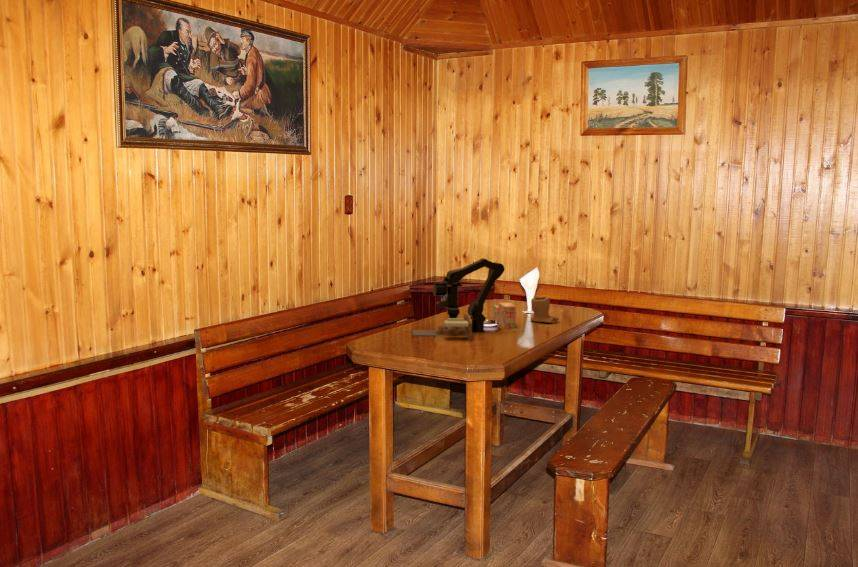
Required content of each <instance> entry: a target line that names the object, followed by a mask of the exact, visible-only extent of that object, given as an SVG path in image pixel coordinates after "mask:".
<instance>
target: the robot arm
mask: <svg viewBox="0 0 858 567" xmlns="http://www.w3.org/2000/svg"><path fill="white" fill-rule="evenodd" d="M483 268H487V269H488V272H487V278H486V280H485V282H484V284H483V286H482V287H481V290H480V291H479V293H478V295H477V297H476V299H475V301H470V302H469V305H468V307H467V313H466V314H467V315H468V317H469V319H470V320H471V322H472V333H485V332H484V328H485V327H484V326H485V322H486V319H487V318H486V316H485V315H484V314H483V312H484V305H485V303H486V300H487V298H488V296H489V295H490V292H491V290H492V289H493V286H495V283H496V281H497V280H498V279H500V277H501V276H502V275H503V273H504V272H505V271H506V270H505V266H504V264H503V263H500V262H497V261H495V262H493V261H491V260H489V259H486V258H482V257H481V258H480V259H479V260H477V261H474V262H472V263H470V264H468V265H465V266H463V267H460V268H457V269H451V270H449V271H447V272H446V274H445V275H446V276H445V278H444V279H443V280H442V281H441V282H434V283H433V287H432V294H433V296H434V297H435V296H439V297H440V296H446V297H445V299H442V300H439V301H436V302H435V303H436V307H437V309H438V310H440V309H441V310H442V308H444V309H445V311H446V314H447V315H448V317H450V318H458V316H459V315H460V313H461V312H460V308H459V305H458V304H459V287H461V288H462V287H463V285H462V283H460V281H462V280H463V278H464V277H466V276H468V275H469V274H472V273H474V272H476V271H478V270H480V269H483Z"/></svg>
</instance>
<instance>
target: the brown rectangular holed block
mask: <svg viewBox="0 0 858 567" xmlns="http://www.w3.org/2000/svg"><path fill="white" fill-rule="evenodd" d="M463 318H464V321H468V323H469V326H456V330H448V329H447V326H445V325H438V326H437V331H438V335H440V336H441V335H443V336H444V335H452V336H453V335H455V336H456V335H458V336H459V335H460V336H461V335H462V336H466V338H467V340H468V341H473V340H472V338H473V336H472V335H473V332H472V319H471V318H470V316H469V315H468V313H466V314H464V317H463Z"/></svg>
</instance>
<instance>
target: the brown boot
mask: <svg viewBox="0 0 858 567" xmlns="http://www.w3.org/2000/svg"><path fill="white" fill-rule="evenodd" d="M550 301H551V300H550V298H549V297H548V296H545V295H544V296H534V297H533V298H531V301H530V304H531V308H532V311H533V317H531V318H530V321H532V322H536V323H543V322H544V324H545V323H546V324H555V323H557V322H558V321H559V320H560V318H559V317H556V316H551V315H550V314H549V311H550V306H551V302H550Z"/></svg>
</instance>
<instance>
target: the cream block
mask: <svg viewBox="0 0 858 567" xmlns="http://www.w3.org/2000/svg"><path fill="white" fill-rule="evenodd" d="M448 318H450V317H449V316H447V318H446V320H448ZM447 329H448V330H456V326H447Z"/></svg>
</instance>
